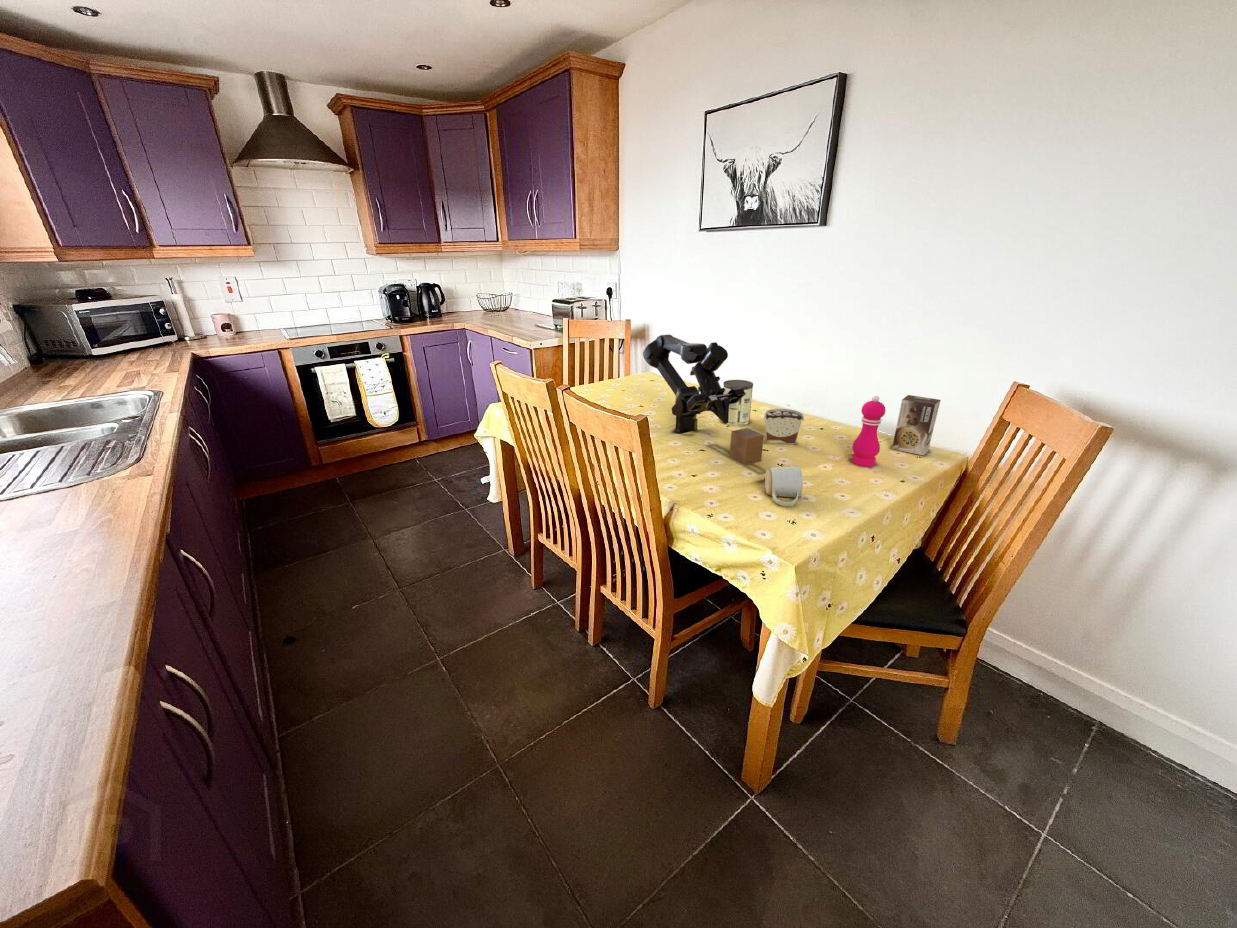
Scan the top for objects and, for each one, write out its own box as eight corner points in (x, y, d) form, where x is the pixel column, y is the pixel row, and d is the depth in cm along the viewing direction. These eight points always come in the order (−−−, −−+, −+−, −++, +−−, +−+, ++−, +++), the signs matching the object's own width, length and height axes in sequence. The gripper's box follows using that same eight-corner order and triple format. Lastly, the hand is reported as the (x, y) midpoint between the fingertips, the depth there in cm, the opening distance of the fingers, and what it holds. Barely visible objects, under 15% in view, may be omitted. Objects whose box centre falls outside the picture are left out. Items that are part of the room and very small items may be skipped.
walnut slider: (729, 456, 147) (731, 431, 144) (745, 453, 150) (747, 427, 147) (744, 464, 142) (747, 438, 138) (761, 461, 144) (764, 435, 141)
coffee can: (726, 415, 188) (729, 378, 182) (753, 419, 183) (757, 381, 177) (716, 422, 180) (718, 384, 174) (743, 427, 175) (747, 388, 169)
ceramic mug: (762, 487, 131) (765, 461, 128) (794, 488, 130) (798, 461, 127) (769, 507, 121) (773, 479, 118) (804, 508, 121) (809, 480, 117)
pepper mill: (875, 459, 148) (888, 393, 140) (878, 468, 141) (892, 400, 133) (848, 456, 150) (860, 391, 142) (850, 465, 144) (863, 398, 136)
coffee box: (929, 450, 154) (942, 399, 147) (923, 456, 149) (936, 404, 143) (896, 443, 159) (908, 394, 153) (890, 448, 155) (901, 398, 149)
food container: (796, 437, 165) (800, 408, 161) (800, 444, 159) (804, 414, 155) (758, 436, 166) (761, 407, 162) (761, 443, 161) (764, 413, 157)
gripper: (718, 389, 166) (737, 430, 161) (671, 396, 158) (689, 440, 154) (736, 370, 156) (756, 413, 152) (686, 377, 149) (706, 423, 144)
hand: (726, 423), depth 150 cm, fingers closed
